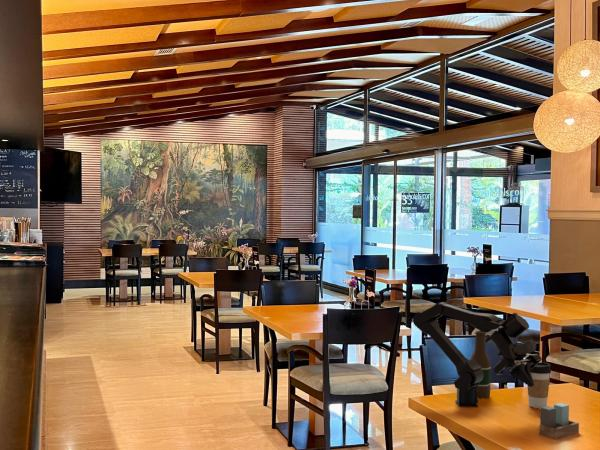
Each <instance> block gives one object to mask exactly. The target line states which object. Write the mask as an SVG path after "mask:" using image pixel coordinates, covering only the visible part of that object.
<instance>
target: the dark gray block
mask: <svg viewBox="0 0 600 450" xmlns="http://www.w3.org/2000/svg"><path fill="white" fill-rule="evenodd" d="M539 417H540V421H539V423H540V424H542V425H545V426H548V427H551V428H556V408H554V406H550V405H547V406H545V407H541V408H540V416H539ZM540 424H539V425H540Z"/></svg>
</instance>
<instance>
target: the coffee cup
mask: <svg viewBox="0 0 600 450" xmlns="http://www.w3.org/2000/svg"><path fill="white" fill-rule="evenodd" d="M530 371H531V376H532V379H533V383H534V386H533V387H530V386H528V385H527V384H526V385H527V395H528V406H529V407H531V408H534V409H541V407H545V406H548V397H549V388H550V378H551V375H550V374H551V373H552V369H551V363H548V362H539V363H538V364H537V365H536V366H534V367H533V368H532V369H530Z"/></svg>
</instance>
